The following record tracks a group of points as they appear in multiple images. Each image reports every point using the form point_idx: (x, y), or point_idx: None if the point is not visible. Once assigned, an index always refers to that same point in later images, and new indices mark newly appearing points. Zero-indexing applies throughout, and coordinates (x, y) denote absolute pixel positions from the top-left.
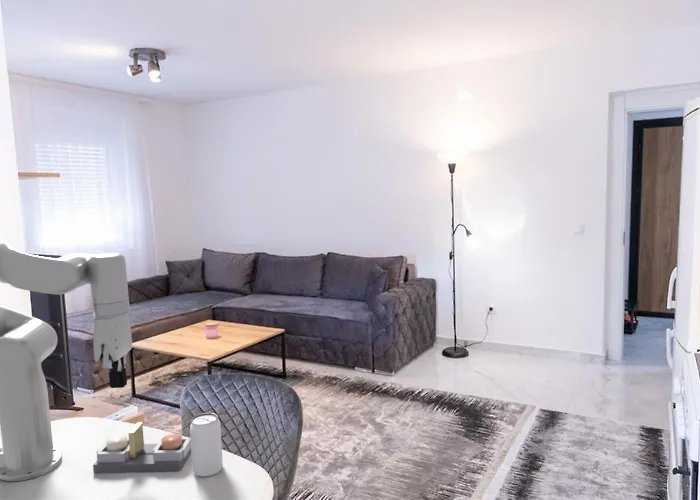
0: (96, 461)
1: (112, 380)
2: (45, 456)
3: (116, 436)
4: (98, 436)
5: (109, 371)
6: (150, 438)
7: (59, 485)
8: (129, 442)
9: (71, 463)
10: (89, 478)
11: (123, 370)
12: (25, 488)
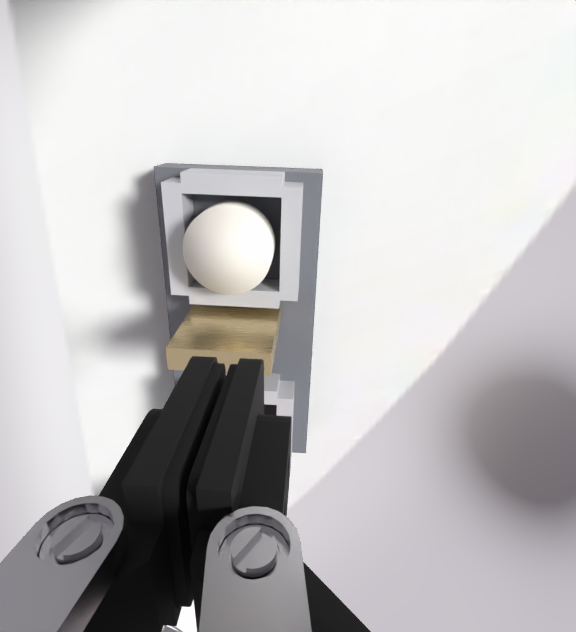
0: (181, 168)
1: (133, 444)
2: None
3: (259, 239)
4: (503, 23)
5: (62, 523)
6: (423, 285)
7: (76, 55)
8: (179, 328)
9: (242, 13)
10: (134, 161)
11: (165, 622)
12: None
